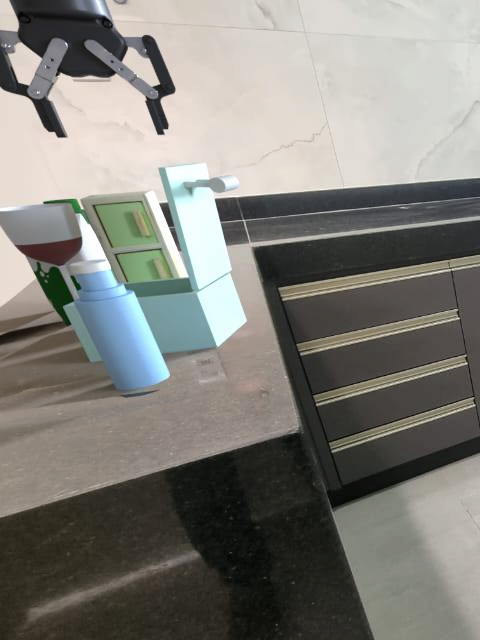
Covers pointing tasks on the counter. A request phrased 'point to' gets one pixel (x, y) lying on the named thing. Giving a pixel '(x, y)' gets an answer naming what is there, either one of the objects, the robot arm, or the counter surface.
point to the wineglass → (45, 234)
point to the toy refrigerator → (134, 236)
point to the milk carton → (67, 264)
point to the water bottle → (118, 328)
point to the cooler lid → (198, 219)
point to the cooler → (178, 314)
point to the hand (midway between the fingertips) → (114, 136)
